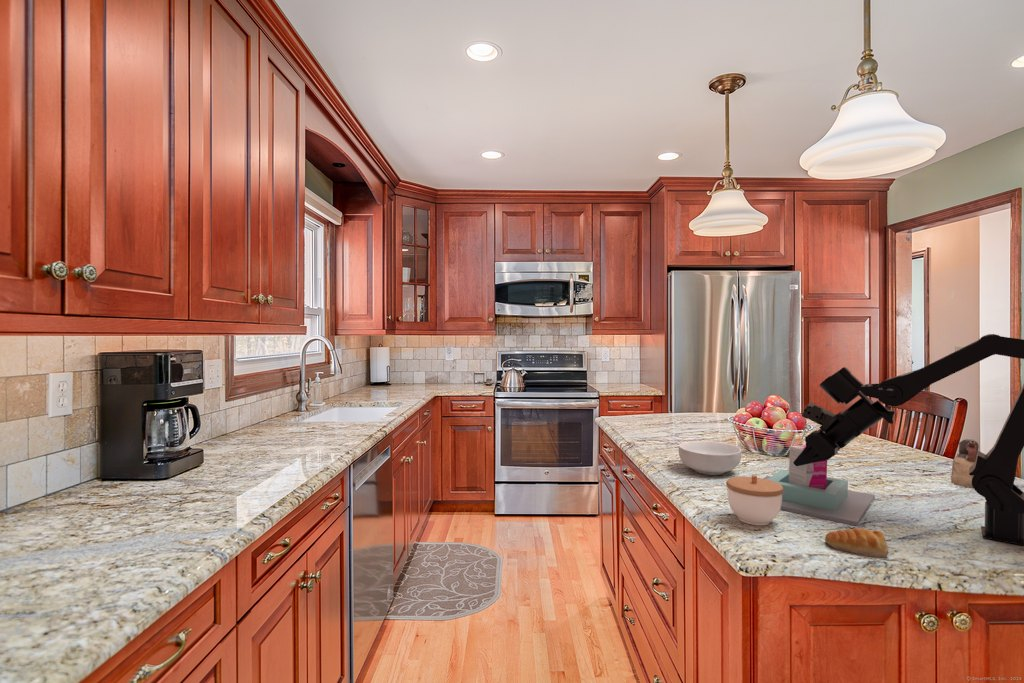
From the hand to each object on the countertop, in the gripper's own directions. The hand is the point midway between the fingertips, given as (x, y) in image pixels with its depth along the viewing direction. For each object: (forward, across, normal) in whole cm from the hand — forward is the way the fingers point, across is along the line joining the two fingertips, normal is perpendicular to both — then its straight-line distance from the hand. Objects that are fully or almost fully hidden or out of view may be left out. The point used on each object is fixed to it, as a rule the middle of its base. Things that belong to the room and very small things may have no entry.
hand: (799, 460), depth 123 cm
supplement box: (+5, 0, +7) cm, 8 cm away
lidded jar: (+9, +23, +4) cm, 25 cm away
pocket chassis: (+5, 0, +7) cm, 9 cm away
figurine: (-15, -42, +28) cm, 52 cm away
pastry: (-4, +25, +18) cm, 31 cm away
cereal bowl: (+24, -9, -11) cm, 28 cm away
